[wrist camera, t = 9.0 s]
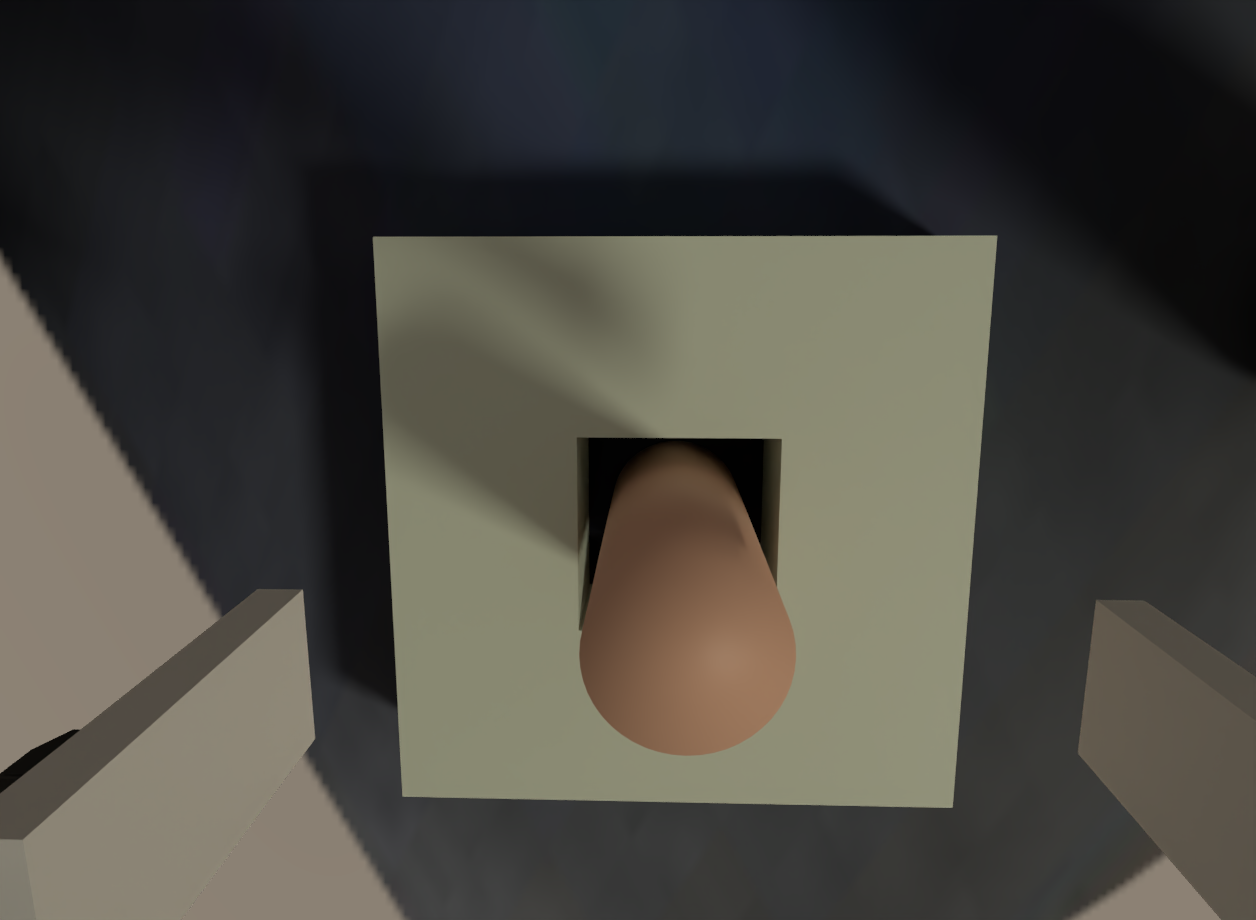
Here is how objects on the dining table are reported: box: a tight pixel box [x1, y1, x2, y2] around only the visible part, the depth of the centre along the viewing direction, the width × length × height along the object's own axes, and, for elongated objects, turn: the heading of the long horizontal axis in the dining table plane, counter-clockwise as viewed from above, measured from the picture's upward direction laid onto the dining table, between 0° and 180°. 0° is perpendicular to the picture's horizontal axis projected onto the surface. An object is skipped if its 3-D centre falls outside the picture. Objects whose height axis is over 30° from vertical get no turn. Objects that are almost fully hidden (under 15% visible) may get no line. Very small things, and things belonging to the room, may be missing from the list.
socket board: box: [373, 236, 997, 808], centre depth 26 cm, size 16×16×4 cm
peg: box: [579, 440, 796, 756], centre depth 22 cm, size 4×4×12 cm
